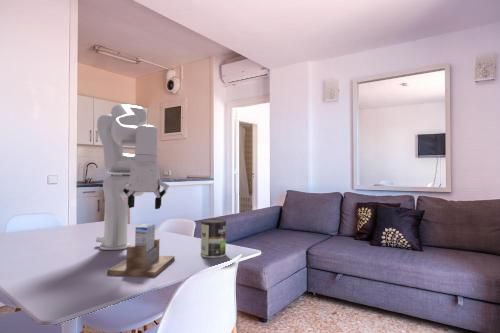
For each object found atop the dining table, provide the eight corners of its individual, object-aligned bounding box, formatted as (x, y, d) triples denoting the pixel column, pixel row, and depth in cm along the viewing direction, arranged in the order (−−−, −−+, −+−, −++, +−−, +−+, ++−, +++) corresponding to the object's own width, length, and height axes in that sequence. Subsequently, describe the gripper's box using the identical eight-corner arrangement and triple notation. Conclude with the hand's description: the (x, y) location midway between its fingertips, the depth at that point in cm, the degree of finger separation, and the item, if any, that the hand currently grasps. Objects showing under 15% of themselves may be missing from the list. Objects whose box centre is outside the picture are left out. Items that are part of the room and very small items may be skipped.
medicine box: (142, 247, 119) (143, 223, 119) (154, 247, 119) (155, 223, 119) (134, 252, 111) (135, 227, 111) (147, 252, 111) (147, 227, 111)
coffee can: (229, 253, 136) (230, 219, 136) (219, 259, 126) (219, 223, 126) (207, 250, 140) (208, 218, 140) (195, 256, 130) (196, 221, 130)
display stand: (107, 274, 106) (107, 248, 106) (134, 258, 125) (134, 236, 126) (154, 276, 104) (155, 250, 104) (174, 260, 124) (175, 237, 124)
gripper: (117, 159, 112) (115, 208, 112) (165, 160, 111) (164, 210, 111) (127, 159, 120) (126, 205, 120) (172, 161, 118) (171, 207, 118)
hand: (144, 208), depth 115 cm, fingers open, 9 cm apart
